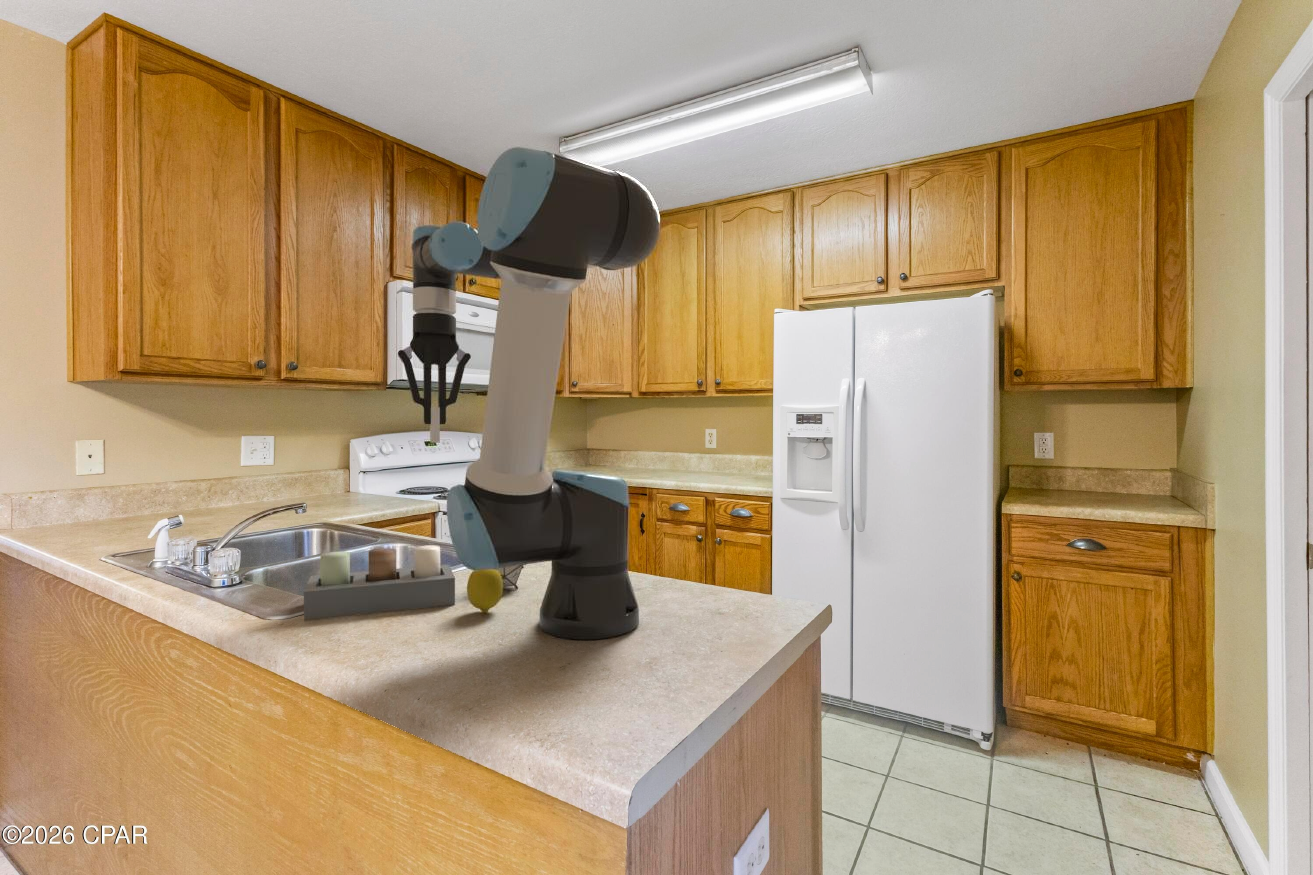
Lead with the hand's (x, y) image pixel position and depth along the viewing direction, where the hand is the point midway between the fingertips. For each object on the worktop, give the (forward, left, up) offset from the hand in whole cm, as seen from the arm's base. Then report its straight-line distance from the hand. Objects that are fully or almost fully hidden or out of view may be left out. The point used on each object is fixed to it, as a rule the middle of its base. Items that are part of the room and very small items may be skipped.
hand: (434, 442), depth 116 cm
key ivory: (-10, +2, -25) cm, 27 cm away
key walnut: (-10, +9, -25) cm, 28 cm away
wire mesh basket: (-8, -11, -27) cm, 30 cm away
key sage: (-10, +16, -25) cm, 31 cm away
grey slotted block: (-10, +9, -26) cm, 30 cm away
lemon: (-21, -6, -27) cm, 34 cm away
